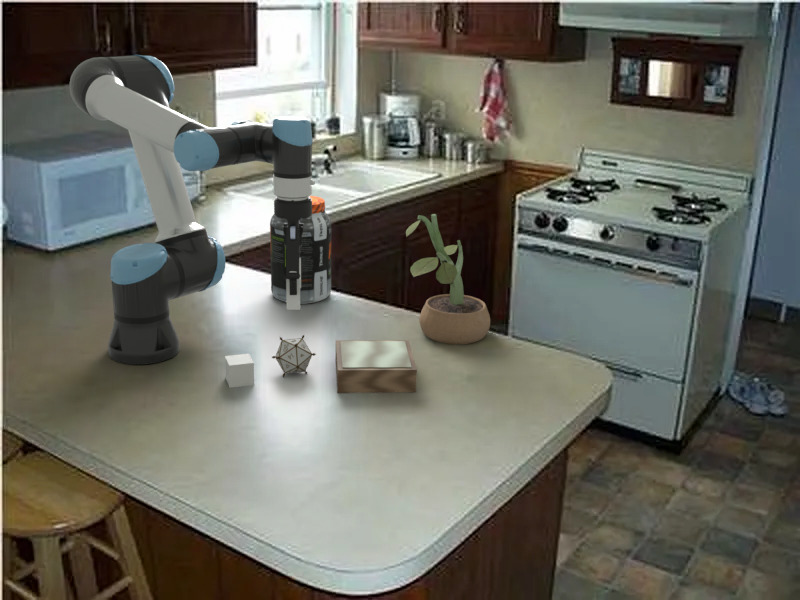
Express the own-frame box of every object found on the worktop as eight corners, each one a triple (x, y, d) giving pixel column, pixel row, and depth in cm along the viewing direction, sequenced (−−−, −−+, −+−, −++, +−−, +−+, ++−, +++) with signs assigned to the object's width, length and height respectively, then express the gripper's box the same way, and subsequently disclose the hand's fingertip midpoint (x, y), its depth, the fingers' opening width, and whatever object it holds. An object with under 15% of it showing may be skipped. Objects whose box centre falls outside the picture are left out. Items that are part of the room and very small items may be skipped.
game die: (299, 392, 191) (305, 369, 183) (263, 374, 192) (268, 350, 184) (317, 360, 197) (324, 336, 189) (282, 343, 197) (287, 318, 189)
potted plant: (462, 316, 228) (469, 199, 218) (503, 340, 213) (513, 216, 204) (383, 329, 218) (387, 207, 208) (421, 355, 203) (427, 226, 193)
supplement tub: (342, 299, 237) (343, 203, 228) (288, 309, 228) (287, 209, 220) (312, 283, 249) (312, 190, 240) (260, 291, 240) (259, 196, 232)
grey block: (229, 388, 184) (229, 365, 182) (225, 378, 188) (224, 356, 186) (254, 385, 185) (253, 362, 184) (249, 375, 190) (248, 353, 188)
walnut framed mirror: (337, 392, 183) (337, 369, 181) (335, 361, 198) (335, 339, 196) (415, 392, 185) (416, 368, 183) (408, 361, 200) (408, 339, 198)
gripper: (312, 211, 167) (312, 318, 174) (312, 183, 191) (312, 279, 198) (271, 211, 167) (273, 319, 174) (276, 183, 190) (277, 279, 197)
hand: (294, 298), depth 186 cm, fingers open, 13 cm apart
